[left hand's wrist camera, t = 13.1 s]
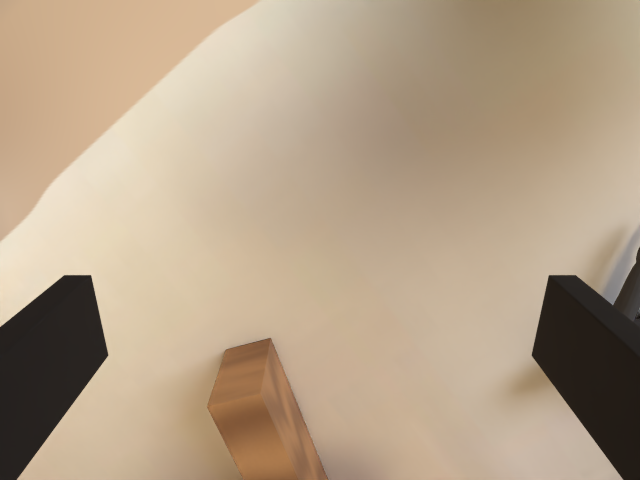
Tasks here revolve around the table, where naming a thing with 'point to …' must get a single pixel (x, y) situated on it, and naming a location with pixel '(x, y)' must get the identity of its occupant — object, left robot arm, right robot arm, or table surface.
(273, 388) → the bar
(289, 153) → the table surface
